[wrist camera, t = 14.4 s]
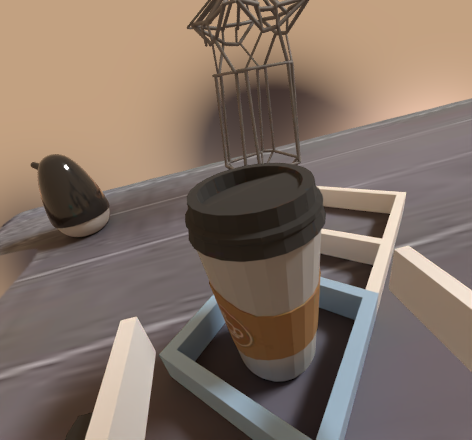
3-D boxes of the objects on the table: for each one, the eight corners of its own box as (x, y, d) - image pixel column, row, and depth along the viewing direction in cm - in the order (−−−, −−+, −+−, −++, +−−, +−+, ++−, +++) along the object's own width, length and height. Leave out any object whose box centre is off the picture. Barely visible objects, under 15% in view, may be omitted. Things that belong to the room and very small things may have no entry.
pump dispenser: (89, 217, 56) (53, 150, 49) (127, 216, 53) (94, 143, 46) (49, 244, 48) (-1, 168, 40) (91, 244, 44) (44, 161, 37)
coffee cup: (212, 341, 23) (158, 193, 16) (280, 294, 26) (260, 154, 19) (271, 429, 17) (223, 244, 9) (351, 351, 20) (360, 172, 13)
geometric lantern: (271, 166, 64) (254, -15, 47) (317, 180, 51) (317, -58, 34) (216, 185, 58) (174, -12, 41) (253, 207, 46) (214, -63, 29)
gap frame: (403, 211, 35) (406, 192, 34) (328, 498, 14) (328, 477, 12) (313, 202, 43) (312, 185, 41) (170, 376, 21) (158, 354, 20)
